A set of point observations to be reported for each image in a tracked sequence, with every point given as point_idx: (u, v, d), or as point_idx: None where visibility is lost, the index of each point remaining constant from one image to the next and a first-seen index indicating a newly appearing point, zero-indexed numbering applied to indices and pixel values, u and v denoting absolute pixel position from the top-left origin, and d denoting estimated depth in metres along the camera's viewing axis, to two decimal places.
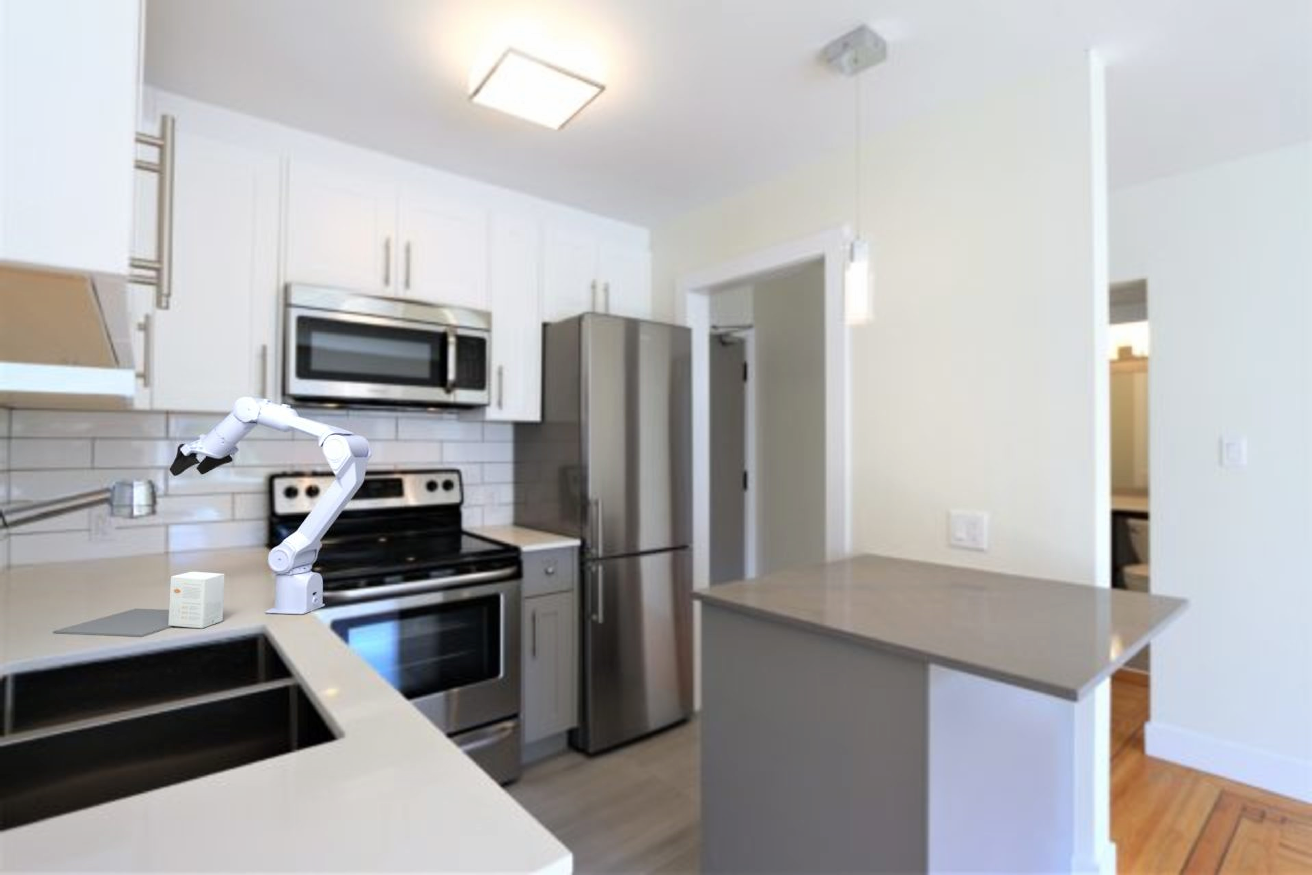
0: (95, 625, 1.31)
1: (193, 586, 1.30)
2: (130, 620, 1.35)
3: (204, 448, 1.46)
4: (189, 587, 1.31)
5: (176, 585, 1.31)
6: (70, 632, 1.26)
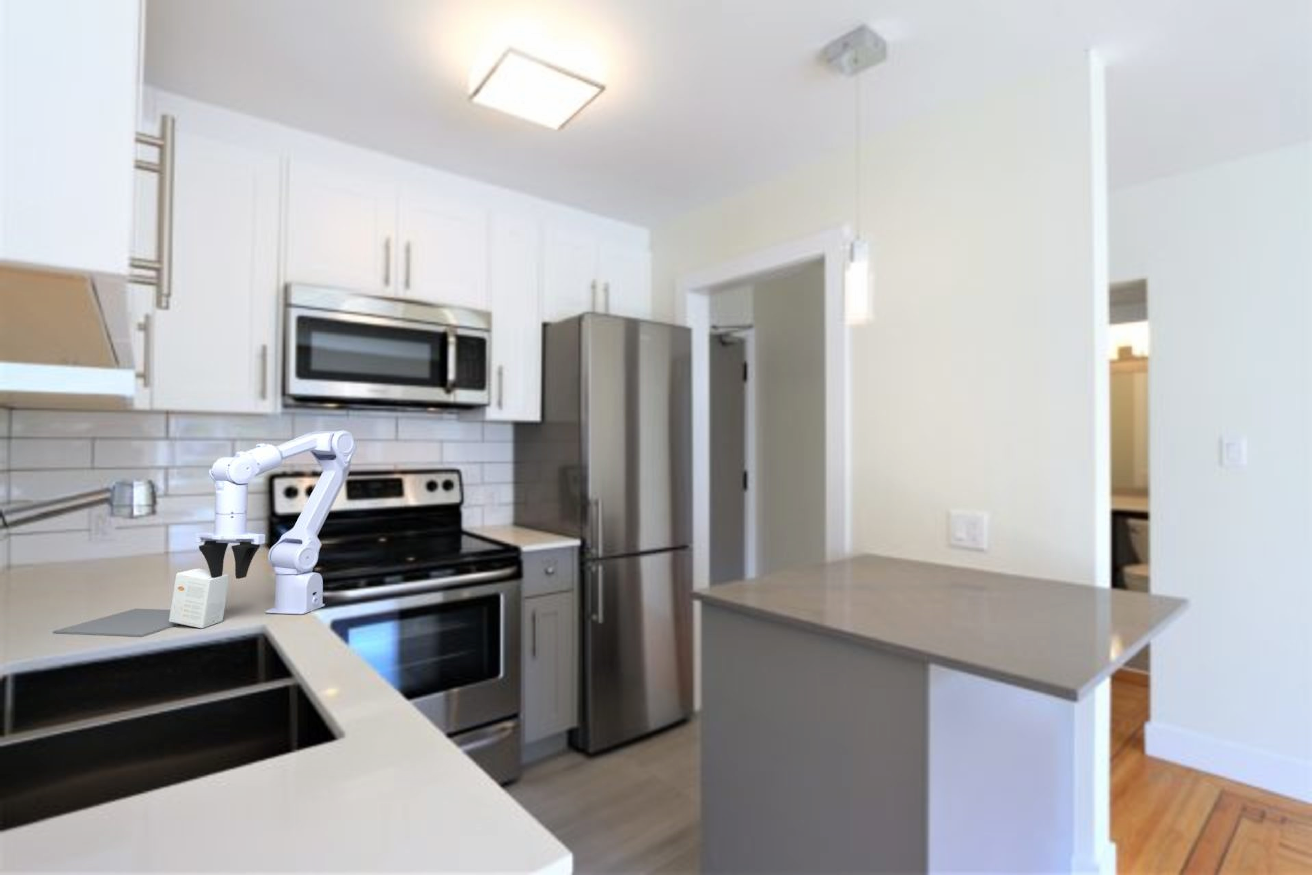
0: (95, 625, 1.31)
1: (197, 586, 1.30)
2: (130, 620, 1.35)
3: (244, 534, 1.33)
4: (193, 586, 1.30)
5: (181, 582, 1.31)
6: (70, 632, 1.26)
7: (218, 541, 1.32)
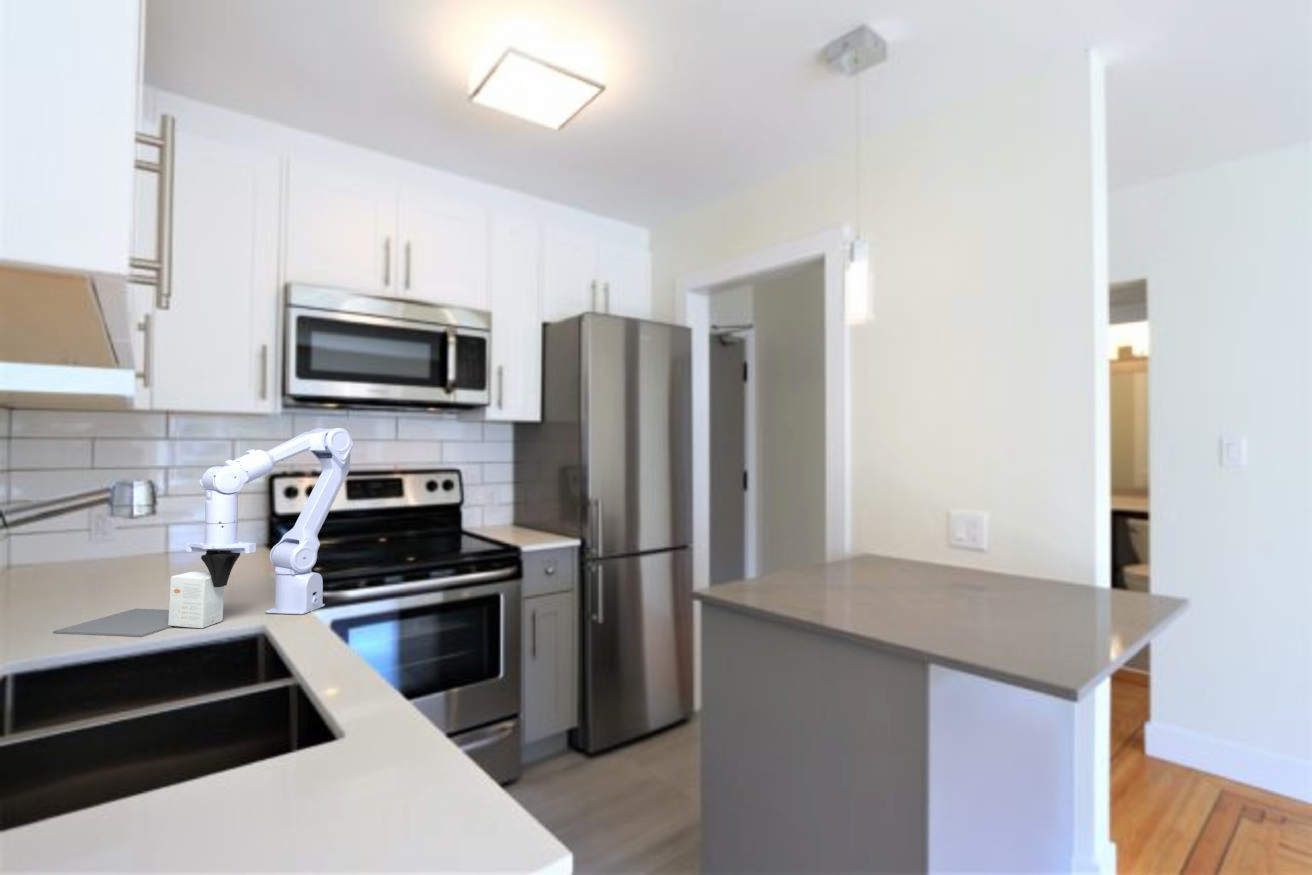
0: (95, 625, 1.31)
1: (193, 586, 1.30)
2: (130, 620, 1.35)
3: (235, 543, 1.33)
4: (189, 587, 1.31)
5: (176, 585, 1.31)
6: (70, 632, 1.26)
7: (209, 550, 1.33)
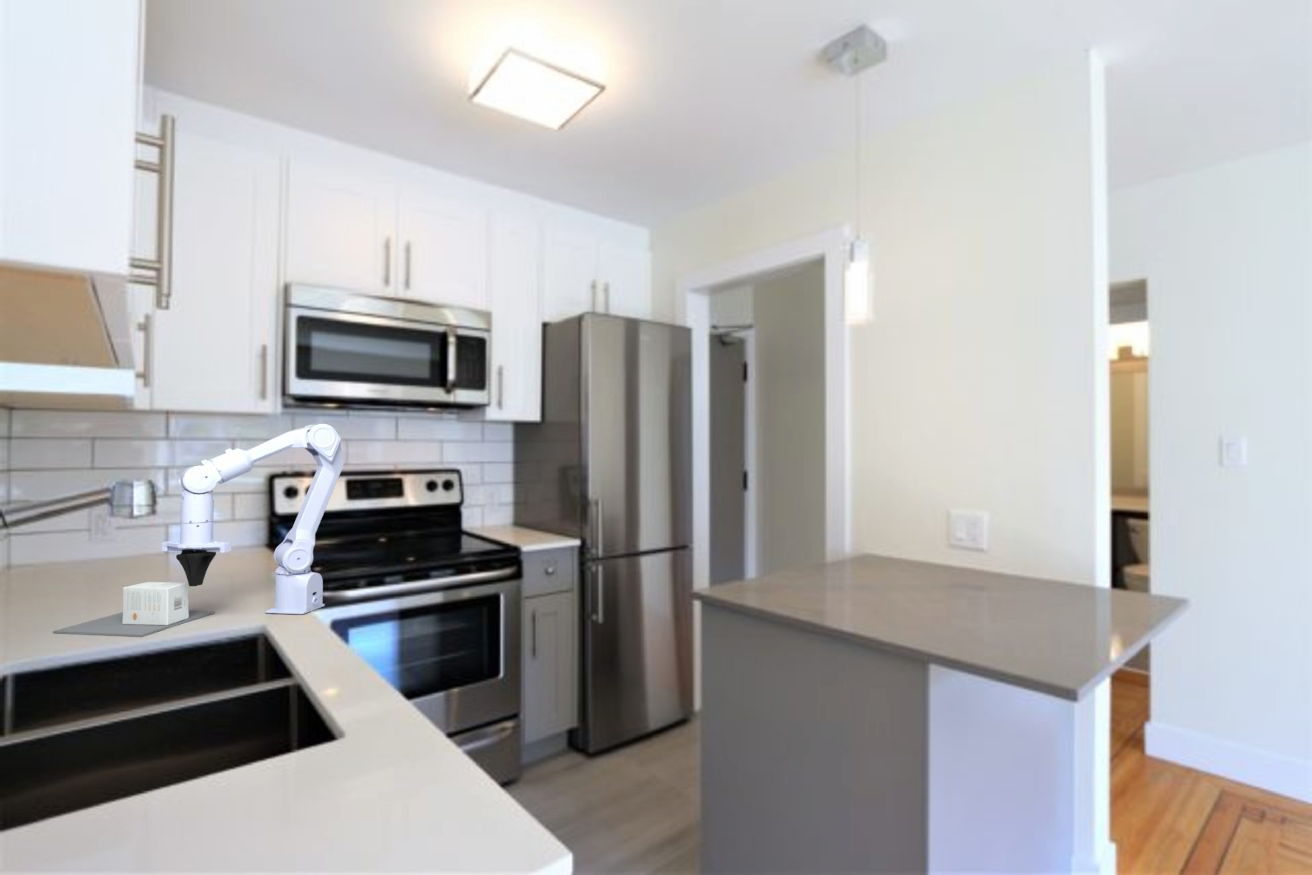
0: (95, 625, 1.31)
1: (130, 599, 1.32)
2: None
3: (211, 542, 1.34)
4: (130, 603, 1.32)
5: (129, 617, 1.32)
6: (70, 632, 1.26)
7: (184, 550, 1.33)
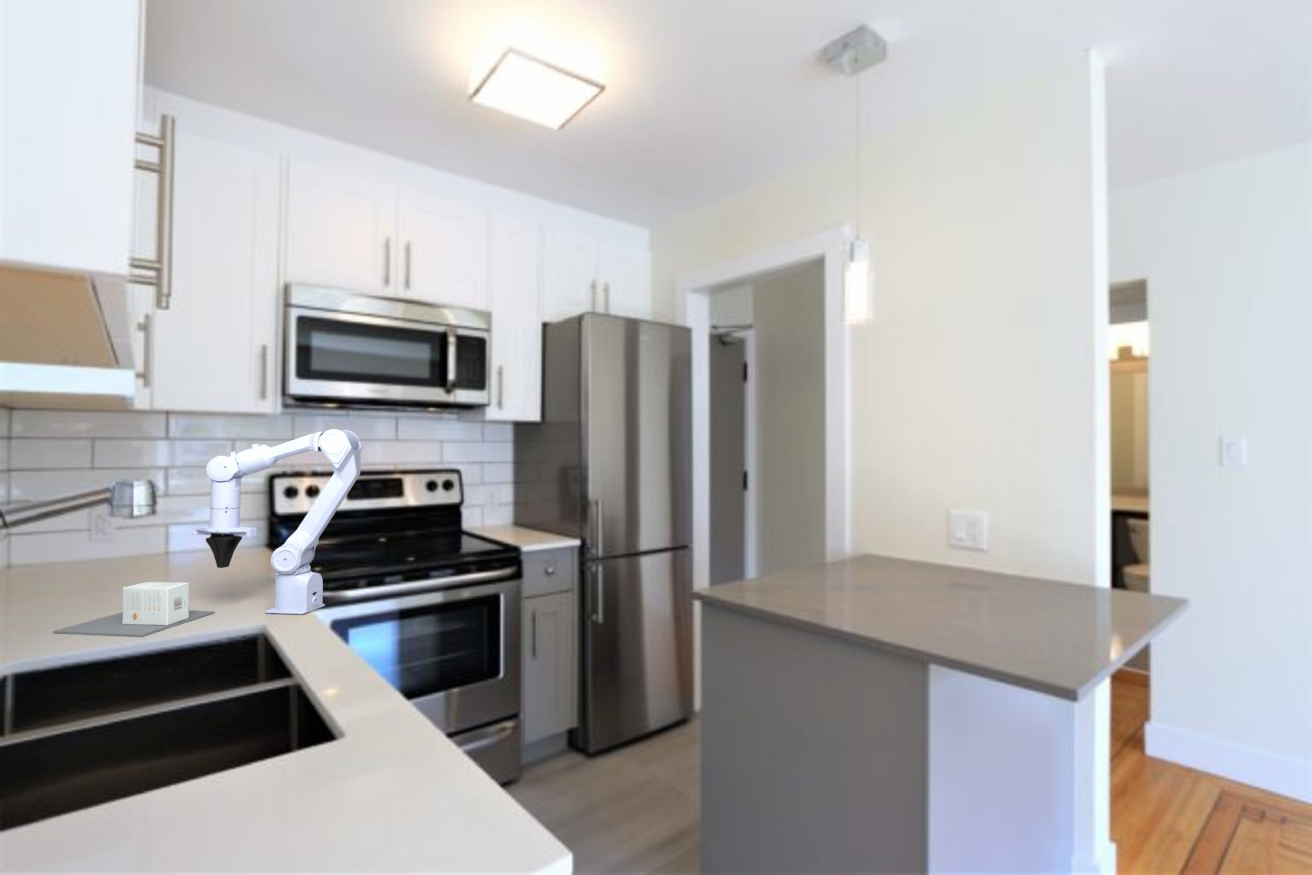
0: (95, 625, 1.31)
1: (129, 599, 1.32)
2: None
3: (237, 527, 1.44)
4: (130, 603, 1.32)
5: (129, 617, 1.32)
6: (70, 632, 1.26)
7: (213, 534, 1.44)
